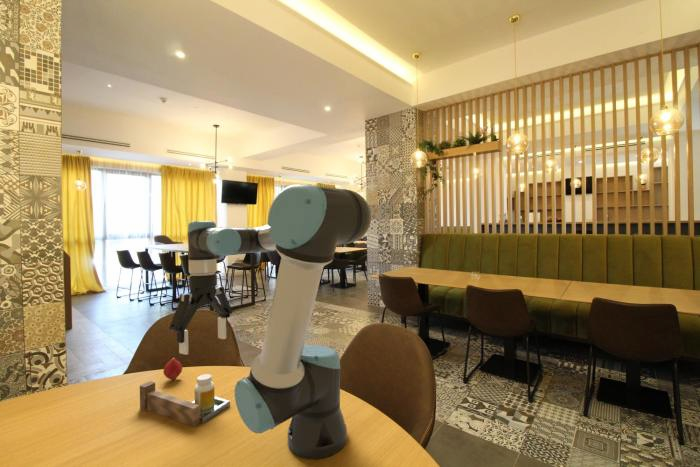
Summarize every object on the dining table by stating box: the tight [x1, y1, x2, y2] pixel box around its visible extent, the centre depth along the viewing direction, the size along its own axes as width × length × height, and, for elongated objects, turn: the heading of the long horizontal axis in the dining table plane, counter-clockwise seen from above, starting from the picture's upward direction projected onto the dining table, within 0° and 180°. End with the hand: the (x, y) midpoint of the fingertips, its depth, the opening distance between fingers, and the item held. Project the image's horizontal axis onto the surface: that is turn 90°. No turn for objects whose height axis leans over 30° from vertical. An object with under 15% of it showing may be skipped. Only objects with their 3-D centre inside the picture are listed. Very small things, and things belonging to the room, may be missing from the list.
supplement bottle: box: [193, 373, 215, 414], centre depth 97 cm, size 5×5×10 cm
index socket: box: [191, 395, 231, 425], centre depth 97 cm, size 10×10×2 cm
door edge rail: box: [139, 380, 201, 428], centre depth 94 cm, size 22×3×7 cm, turn 65°
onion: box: [163, 357, 183, 381], centre depth 116 cm, size 6×6×8 cm
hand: (204, 345), depth 96 cm, fingers open, 13 cm apart
